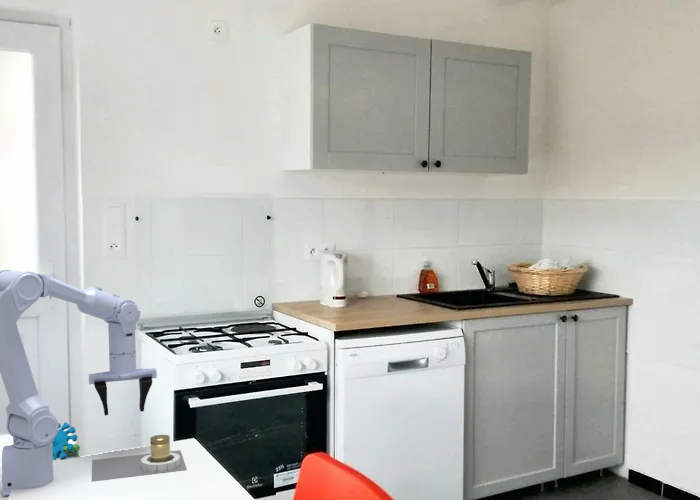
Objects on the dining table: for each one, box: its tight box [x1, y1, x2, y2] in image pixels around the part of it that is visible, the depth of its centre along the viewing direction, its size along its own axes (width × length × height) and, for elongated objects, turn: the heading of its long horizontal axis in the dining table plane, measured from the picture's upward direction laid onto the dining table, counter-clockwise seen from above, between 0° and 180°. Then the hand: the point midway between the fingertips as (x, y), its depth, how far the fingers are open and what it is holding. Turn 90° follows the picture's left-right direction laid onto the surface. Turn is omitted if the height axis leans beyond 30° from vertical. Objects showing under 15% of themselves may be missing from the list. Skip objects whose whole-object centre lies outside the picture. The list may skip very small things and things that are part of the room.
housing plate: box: [91, 449, 188, 483], centre depth 159 cm, size 19×14×2 cm
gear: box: [52, 422, 81, 461], centre depth 168 cm, size 11×6×10 cm
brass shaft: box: [149, 434, 171, 463], centre depth 159 cm, size 4×4×6 cm
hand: (124, 412), depth 166 cm, fingers open, 7 cm apart
